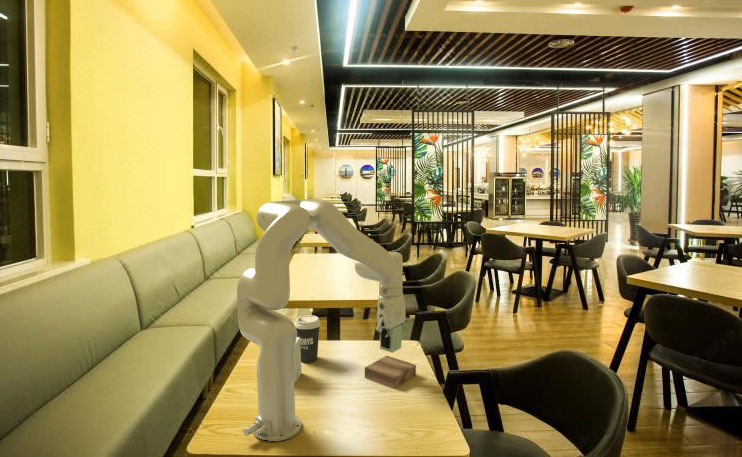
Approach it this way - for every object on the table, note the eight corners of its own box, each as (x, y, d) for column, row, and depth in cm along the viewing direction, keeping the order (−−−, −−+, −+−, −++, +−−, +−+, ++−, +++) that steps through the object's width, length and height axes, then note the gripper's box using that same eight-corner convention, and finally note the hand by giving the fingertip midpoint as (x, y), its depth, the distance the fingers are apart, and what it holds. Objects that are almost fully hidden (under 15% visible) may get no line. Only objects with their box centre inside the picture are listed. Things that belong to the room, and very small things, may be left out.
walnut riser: (394, 390, 149) (394, 378, 148) (364, 379, 156) (364, 367, 155) (415, 376, 158) (415, 365, 157) (386, 366, 165) (386, 355, 165)
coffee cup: (292, 355, 173) (291, 315, 171) (318, 352, 176) (317, 313, 174) (296, 366, 164) (295, 324, 162) (324, 362, 167) (323, 321, 165)
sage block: (392, 352, 152) (392, 328, 151) (379, 348, 155) (379, 325, 154) (401, 347, 156) (401, 324, 155) (388, 344, 159) (388, 321, 158)
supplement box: (302, 372, 160) (301, 336, 158) (296, 383, 152) (295, 345, 150) (280, 371, 160) (279, 336, 158) (273, 382, 153) (272, 344, 151)
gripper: (384, 299, 144) (384, 356, 146) (415, 286, 157) (414, 339, 160) (364, 294, 148) (365, 350, 151) (396, 283, 161) (396, 334, 164)
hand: (390, 344), depth 155 cm, fingers closed on sage block, 5 cm apart
